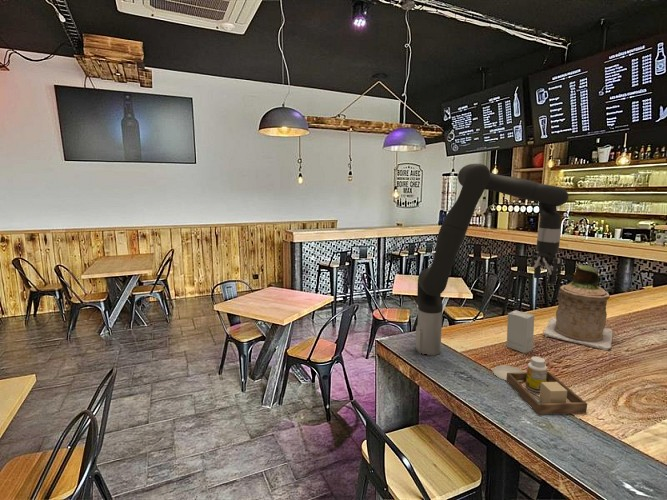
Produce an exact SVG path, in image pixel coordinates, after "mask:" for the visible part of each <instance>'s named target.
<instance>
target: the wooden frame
mask: <svg viewBox="0 0 667 500" xmlns="http://www.w3.org/2000/svg"><path fill="white" fill-rule="evenodd" d="M517 380H524V382H523V383H526V380H527V372H525V371H524V372H521V373H507V381H506V382H507V383H508V382H509V383H508V385H509V386H512V387H513V388H514V389H515V390H516V391H517V392H518V393H519V394H520V395H519V394H518V393H517V392H516V391H515V390H514V389H513V388H512V387H511V388H512V389H513V390H514V391H515V392H516V393H517V394H518V395H519V396H520V398H522V400H523V401H524V402H525V403H526V402H527V403H528V404H529V405H530V406H531V407H532V408H531V407H530V406H529V405H528V404H527V403H526V404H527V405H528V406H529V407H530V408H531V409H532V410H533V411H534V412H535V413H536V414H537V415H563V414H566V415H567V414H587V409H588V403H587V402H586V401H585V400H584V399H582V398H581V397H580V396H579V395H577V394H576V393H575V391H573V390H572V389H571V388H569V387H568V386H567V385H566V384H564V383H563V382H562V381H561V380H560V379H559V378H557V377H556V376H555V375H554V374H552V373H551V372H550V371H547V375H546V382H558V383H559V384H560V385H561V386H562V387H564V388H565V389H566V390H567V398H566V400H568V401H569V402H566V403H542V402H540V401H538V400H537V399H536V398H535V397H534V396H533V395H532V394H531V393H530V392H529V391H528V390H527V389H526V388H525V387H524V386H523V385H522V384H521V383H519V382H518V381H517ZM551 413H552V414H551ZM553 413H555V414H553ZM556 413H557V414H556ZM558 413H559V414H558Z"/></svg>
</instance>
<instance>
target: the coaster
mask: <svg viewBox="0 0 667 500" xmlns="http://www.w3.org/2000/svg"><path fill="white" fill-rule="evenodd" d="M521 372H525V371H524V370H522V369H520V368H518V367H515V366H511V365H502V364H501V365H496V366H495V367H493V368H492V373H494V374H493V375H494V376H495V375H496V376H497V377H496V376H495V377H496V378H498V377H499V378H501V379H504V380H506V381H505V382H507V373H521ZM499 378H498V379H499ZM501 379H500V380H501ZM504 380H503V381H504ZM517 381H518V382H519V383H520V384H521V383H525V382H524V380H517Z"/></svg>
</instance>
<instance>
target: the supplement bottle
mask: <svg viewBox="0 0 667 500" xmlns="http://www.w3.org/2000/svg"><path fill="white" fill-rule="evenodd" d="M547 372H548V367H547V365H546V360H545V359H544V358H542V357H540V356H532V357H531V358H530V362H528V364H527V380H526V382H525V385H526V388H527V389H528V390H530V391H533V392H536V393H540V388H541V382H547V381H546V375H547Z"/></svg>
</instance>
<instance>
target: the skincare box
mask: <svg viewBox="0 0 667 500" xmlns="http://www.w3.org/2000/svg"><path fill="white" fill-rule="evenodd" d="M506 327H507V330H506V347H507V348H509V349H512V350H515V351H517V352H520V353H523V354H527V353H529V352H532V351H533V349H534V336H535V335H534V331H535V330H534V328H535V314H532V313H531V314H530V313H528V312H524V311H519V310H513V311H510V312H508V313H507V326H506Z"/></svg>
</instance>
